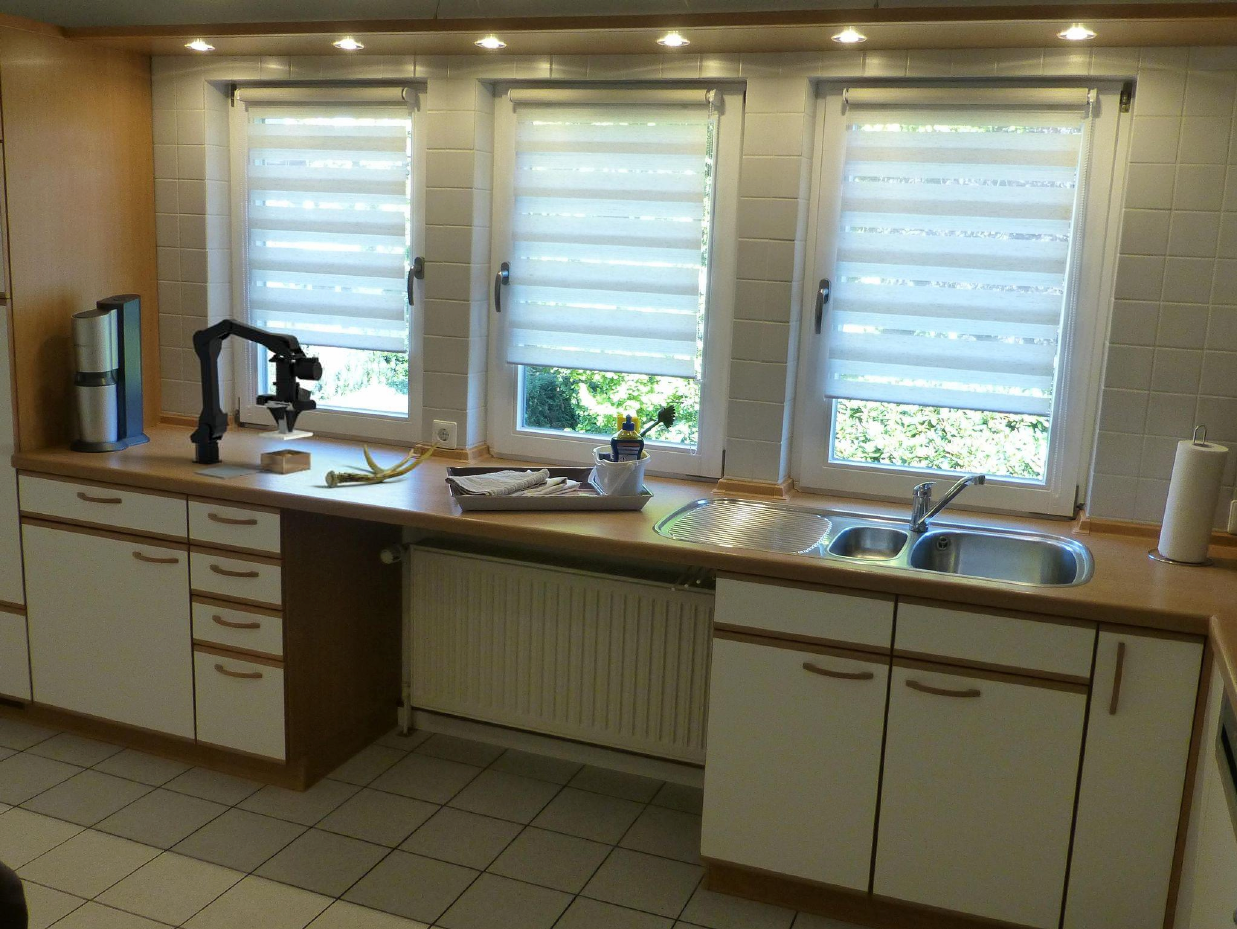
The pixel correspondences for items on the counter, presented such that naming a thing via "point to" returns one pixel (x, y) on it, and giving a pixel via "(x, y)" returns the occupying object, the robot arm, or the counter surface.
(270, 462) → the crate
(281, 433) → the lid
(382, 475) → the antler
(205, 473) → the mat
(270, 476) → the counter surface
